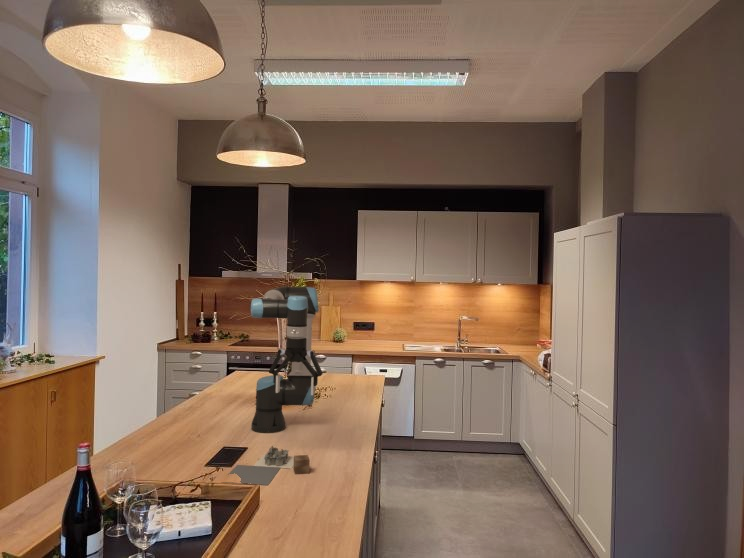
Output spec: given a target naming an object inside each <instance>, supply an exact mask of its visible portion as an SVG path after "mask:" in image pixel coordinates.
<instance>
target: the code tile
mask: <svg viewBox="0 0 744 558" xmlns="http://www.w3.org/2000/svg"><path fill="white" fill-rule="evenodd" d="M265 455H266V454H262V456H260V458H258V460H257V461H256V462H255V463H254V464H253V466H265V467H281V468H280V469H291V470H292V469H293V468H294V456H289V455H288V458H287V459H286V461H285V462H283V465H279V466H277V465H266V464H265V459H264V458H265Z"/></svg>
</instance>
